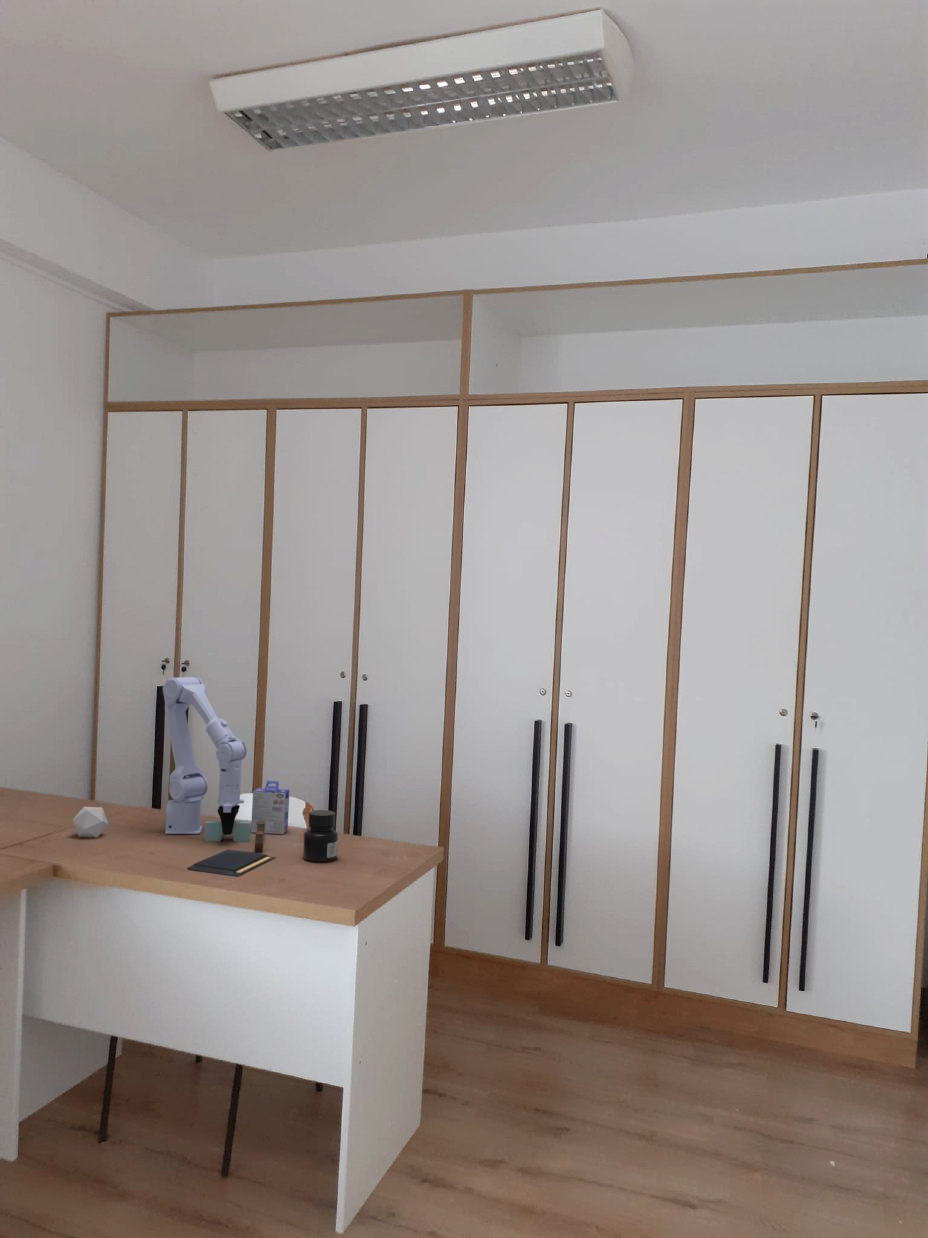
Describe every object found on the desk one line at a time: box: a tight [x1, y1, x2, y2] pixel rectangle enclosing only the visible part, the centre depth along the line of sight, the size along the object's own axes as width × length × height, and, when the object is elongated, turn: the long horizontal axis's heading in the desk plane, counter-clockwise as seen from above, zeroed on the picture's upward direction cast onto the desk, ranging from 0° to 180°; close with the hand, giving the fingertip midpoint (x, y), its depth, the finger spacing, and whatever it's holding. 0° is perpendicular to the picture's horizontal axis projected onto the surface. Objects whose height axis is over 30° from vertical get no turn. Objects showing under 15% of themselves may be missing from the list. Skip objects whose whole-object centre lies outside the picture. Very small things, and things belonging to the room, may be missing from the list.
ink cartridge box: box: [250, 780, 290, 835], centre depth 273 cm, size 10×6×14 cm, turn 89°
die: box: [72, 806, 109, 839], centre depth 258 cm, size 8×9×10 cm
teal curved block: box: [204, 820, 251, 842], centre depth 261 cm, size 12×2×5 cm, turn 100°
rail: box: [254, 821, 266, 854], centre depth 256 cm, size 15×2×5 cm, turn 10°
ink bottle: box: [302, 809, 339, 863], centre depth 246 cm, size 10×9×12 cm
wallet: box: [186, 848, 277, 878], centre depth 238 cm, size 20×2×15 cm
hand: (227, 833), depth 261 cm, fingers closed on teal curved block, 2 cm apart
